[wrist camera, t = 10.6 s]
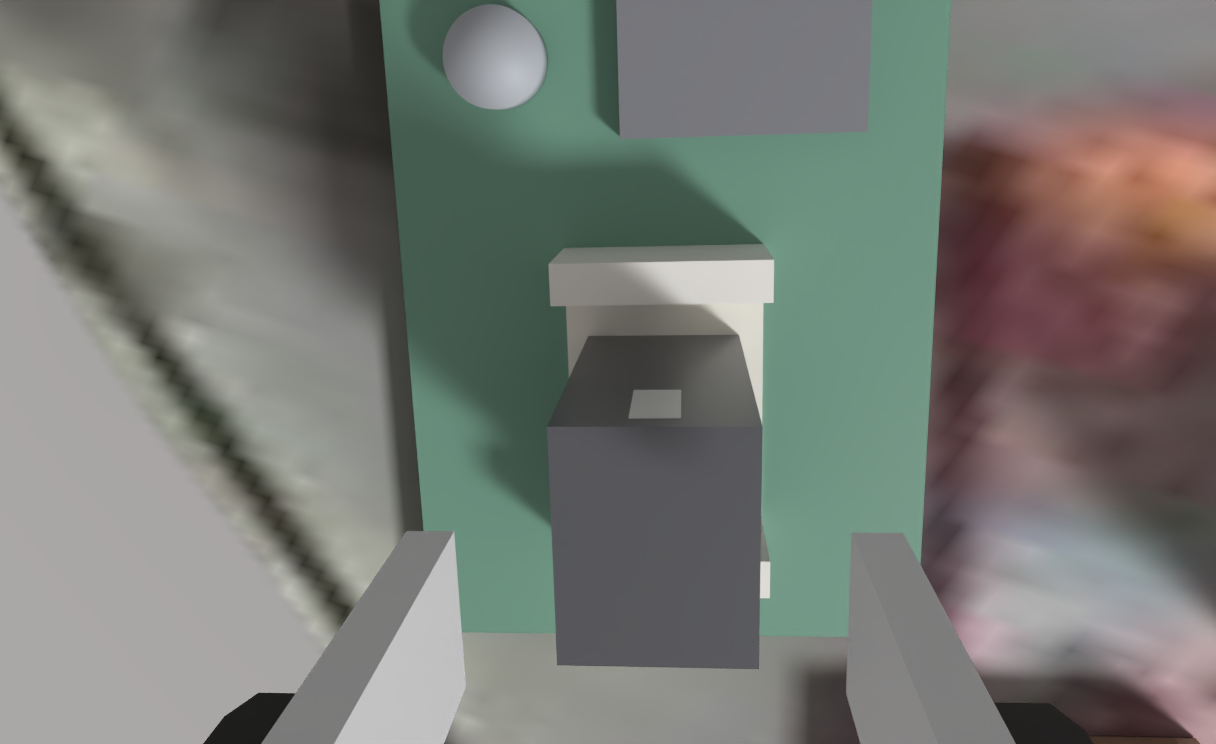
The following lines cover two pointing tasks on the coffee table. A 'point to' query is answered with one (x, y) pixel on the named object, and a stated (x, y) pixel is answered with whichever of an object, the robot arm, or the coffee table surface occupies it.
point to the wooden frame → (1141, 740)
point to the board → (669, 257)
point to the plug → (657, 505)
